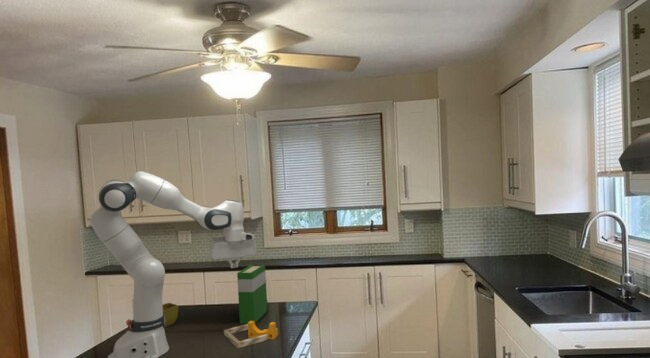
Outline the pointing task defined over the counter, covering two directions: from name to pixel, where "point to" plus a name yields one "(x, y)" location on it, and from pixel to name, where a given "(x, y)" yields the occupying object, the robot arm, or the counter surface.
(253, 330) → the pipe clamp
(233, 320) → the counter surface
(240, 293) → the hardback book
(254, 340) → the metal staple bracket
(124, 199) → the robot arm
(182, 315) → the counter surface
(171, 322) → the flower pot
